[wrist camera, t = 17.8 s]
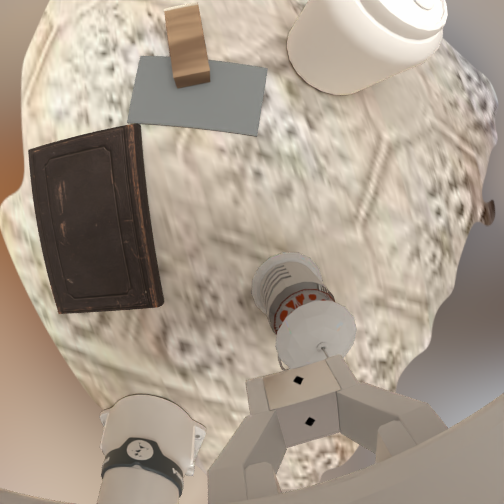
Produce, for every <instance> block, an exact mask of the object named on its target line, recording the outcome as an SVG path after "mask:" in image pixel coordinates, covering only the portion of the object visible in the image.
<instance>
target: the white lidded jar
mask: <svg viewBox="0 0 504 504" xmlns="http://www.w3.org/2000/svg"><path fill="white" fill-rule="evenodd" d="M447 16H448V14H447V5H446V2H445V0H309V1H308V2H307V4H306V6H305V7H304V9H303V10H302V12H301V14H300V15H299V17H298V19H297V20H296V22H295V24H294V25H293V27H292V29H291V30H290V32H289V34H288V40H287V51H288V56H289V60H290V62H291V63H292V65H293V67H294V69H295V70H296V72H297V73H298V74H299V75H300V76H301V77H302V78H303V79H304V80H305V81H306V82H307V83H308V84H310V85H311V86H313V87H315V88H317V89H318V90H320V91H322V92H326V93H330V94H334V95H350V94H353V93H355V92H358V91H361V90H363V89H365V88H367V87H369V86H372V85H374V84H376V83H378V82H380V81H383V80H385V79H387V78H390V77H392V76H394V75H397V74H399V73H401V72H404V71H406V70H408V69H411V68H413V67H416V66H418V65H421V64H423V63H424V62H425V61H426V60H427V59H428V58H429V57H431V56H432V55H433V54H434V52H435V51H436V50H437V49H438V48H439V46H440V43H441V40H442V37H443V27H444V25H445V22H446V19H447Z"/></svg>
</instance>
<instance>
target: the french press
mask: <svg viewBox="0 0 504 504" xmlns="http://www.w3.org/2000/svg"><path fill="white" fill-rule="evenodd" d="M322 281H323V280H322V277H321V273H320V270H319V267H318V266H317V265H316V264H315V263H314V262H313V260H312V259H311V258H309V257H307V256H305V255H302V254H300V253H297V252H283V253H280V254H278V255H275V256H272V257H270V258H269V259H267V260H266V261H265V262H264V263H263V264H262V265H261V266H260V267H259V268H258V270H257V272H256V274H255V276H254V278H253V280H252V296H253V299H254V301H255V304H256V306H257V307H258V308H259V309H260V310H261V311H262V312H263V313H264V314H265V315H267V317H268V320H269V323H271V324H270V326H271V328H272V330H273V332H274V333H275V334H276V335H277V338H276V350H277V352H278V361H279V364H280V367H281V369H282V370H283V371H286V370H290V369H294V368H298V367H301V366H304V365H308V364H311V363H314V362H318V361H321V360H324V359H325V358H328V357H331V356H334V355H337V354H340V355H341V356H342V357H343V358H344V357H345V356H346V354H347V353H348V351H349V350H350V348H351V347H352V345H353V344H354V339H355V335H356V330H357V329H356V324H355V320H354V317H353V315H352V314H351V313H350V312H349V311H348V309H347V308H346V307H345V306H342V305H340V304H338V303H336V302H335V300H334V296H333V295H332V294H331V292H330V291H329V290H328V289H327V288H326V287H325V285H324V284H323V283H322ZM323 286H324V287H323ZM322 288H323V291H322ZM324 288H325V290H324ZM326 289H327V290H326ZM325 291H326V293H325ZM327 291H328V293H327ZM281 361H283V362H284V363H285V364H286V365H287V366H288V367H289V369H284V368H283V366H282V363H281Z"/></svg>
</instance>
